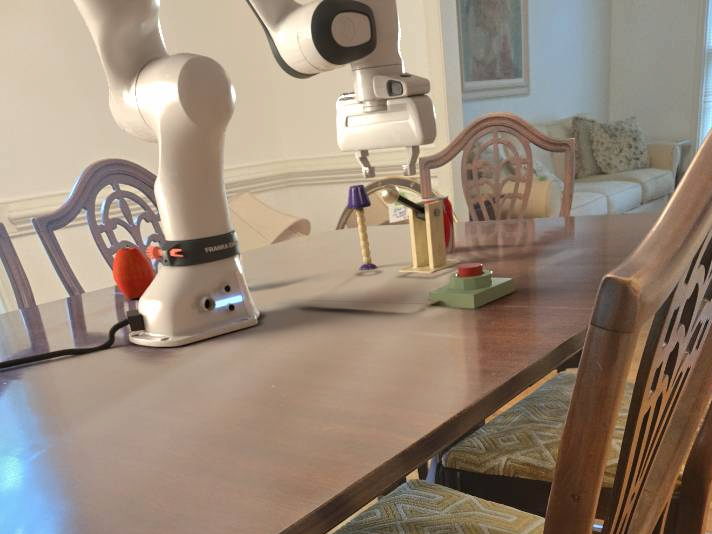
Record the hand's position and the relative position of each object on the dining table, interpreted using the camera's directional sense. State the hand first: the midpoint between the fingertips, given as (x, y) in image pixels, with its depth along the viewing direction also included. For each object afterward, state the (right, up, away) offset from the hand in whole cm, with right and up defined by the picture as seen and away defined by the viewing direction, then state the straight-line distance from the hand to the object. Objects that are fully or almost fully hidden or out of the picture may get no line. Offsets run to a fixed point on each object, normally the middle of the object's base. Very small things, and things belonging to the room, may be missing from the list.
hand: (389, 176), depth 138 cm
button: (+14, -22, -11) cm, 28 cm away
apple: (-53, -14, +24) cm, 60 cm away
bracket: (+8, -12, +15) cm, 21 cm away
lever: (+3, -4, +6) cm, 8 cm away
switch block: (+14, -25, -9) cm, 30 cm away
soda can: (+10, -4, +29) cm, 31 cm away
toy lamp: (-5, -10, +22) cm, 24 cm away
